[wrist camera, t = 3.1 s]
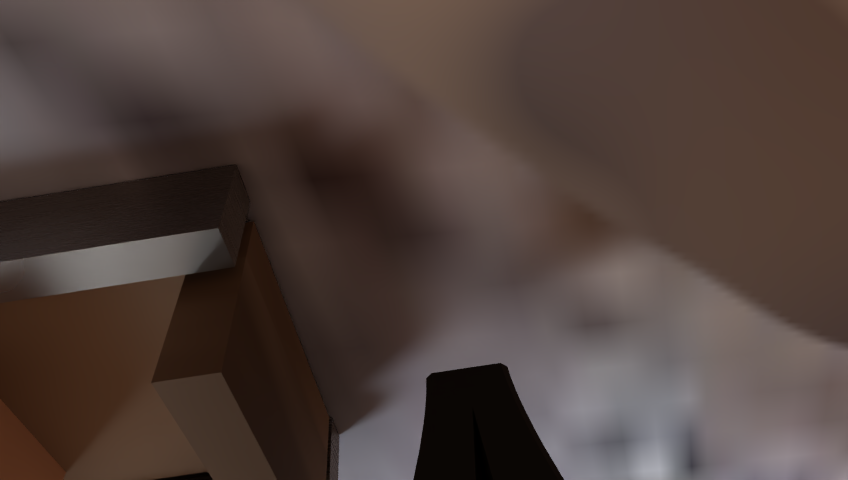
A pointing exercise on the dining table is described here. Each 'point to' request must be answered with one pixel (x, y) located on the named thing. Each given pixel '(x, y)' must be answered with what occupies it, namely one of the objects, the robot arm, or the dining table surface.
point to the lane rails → (127, 241)
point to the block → (23, 452)
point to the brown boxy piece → (168, 377)
